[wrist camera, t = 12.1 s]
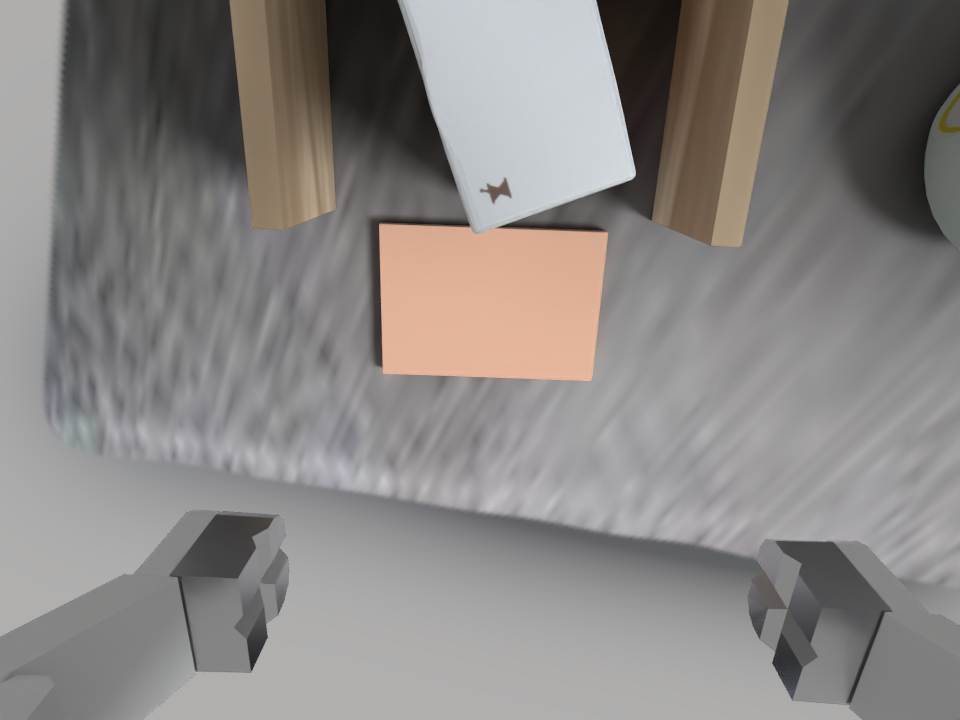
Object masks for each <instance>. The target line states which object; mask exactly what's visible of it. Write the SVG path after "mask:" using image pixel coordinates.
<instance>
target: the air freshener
mask: <svg viewBox="0 0 960 720" xmlns="http://www.w3.org/2000/svg"><path fill="white" fill-rule="evenodd" d="M924 178H925V186H926V194H927V199H928V202H929V205H930V208H931V211H932V214H933V216H934V218H935V220H936V222H937V223H938V225H939V227H940V229H941V230H942V232H943V234H944V235H945V236H946V237H947V238H948V240H949V241H950V242H951V243H952V244H953V245H954V246H955V247H956V248H957V249H958V250H959V251H960V84H959V85H958V86H957V87H956V89H955V90H954V91H953V92H952V93H951V94H950V96H949V97H948V98H947V100H946V101H945V103H944V104H943V105H942V107H941V108H940V110H939V111H938V113H937V115H936V117H935V119H934V122H933V124H932V127H931V130H930V133H929V138H928V143H927V147H926V152H925V167H924Z"/></svg>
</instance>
